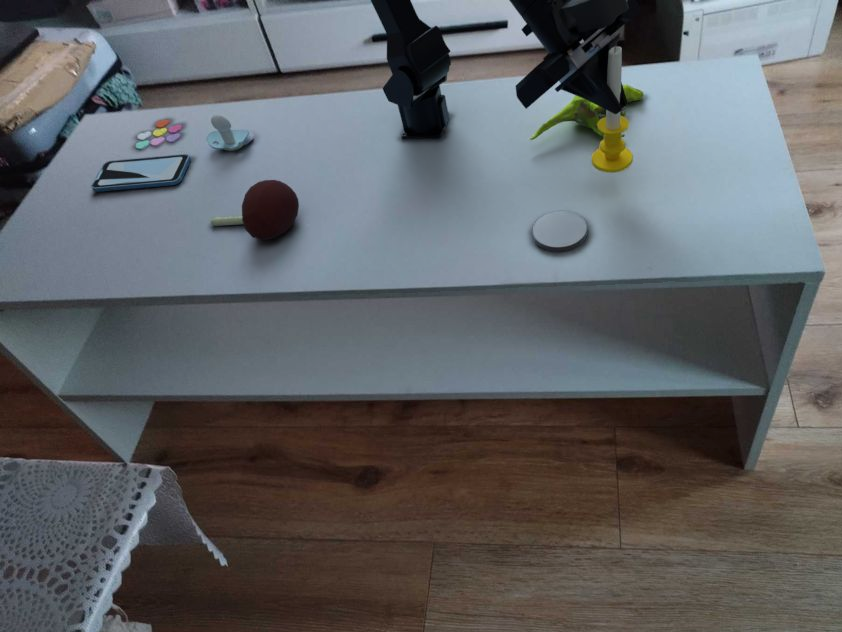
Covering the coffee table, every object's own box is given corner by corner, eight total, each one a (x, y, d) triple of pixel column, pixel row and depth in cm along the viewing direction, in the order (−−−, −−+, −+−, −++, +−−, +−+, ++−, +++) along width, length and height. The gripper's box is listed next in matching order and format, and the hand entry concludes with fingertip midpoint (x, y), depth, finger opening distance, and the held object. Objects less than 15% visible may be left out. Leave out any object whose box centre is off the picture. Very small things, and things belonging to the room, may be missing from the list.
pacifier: (223, 134, 119) (207, 154, 115) (208, 100, 114) (191, 120, 110) (262, 133, 117) (247, 154, 113) (248, 99, 112) (232, 120, 109)
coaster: (529, 251, 90) (528, 246, 89) (536, 214, 94) (536, 210, 93) (584, 252, 88) (584, 248, 87) (589, 215, 92) (589, 211, 92)
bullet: (215, 221, 103) (265, 218, 102) (213, 227, 103) (263, 224, 101) (212, 216, 103) (262, 213, 101) (209, 222, 102) (260, 219, 100)
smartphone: (177, 181, 110) (88, 189, 112) (180, 186, 111) (92, 193, 113) (190, 153, 115) (105, 160, 117) (193, 158, 116) (108, 165, 117)
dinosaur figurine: (581, 175, 98) (580, 137, 93) (528, 150, 103) (524, 113, 98) (670, 107, 104) (673, 68, 100) (616, 86, 110) (616, 49, 105)
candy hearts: (134, 151, 120) (133, 150, 119) (141, 126, 125) (140, 125, 124) (179, 141, 119) (179, 139, 119) (184, 116, 125) (184, 115, 124)
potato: (300, 215, 104) (315, 202, 99) (261, 255, 100) (275, 243, 95) (261, 177, 101) (275, 161, 96) (220, 216, 97) (232, 202, 92)
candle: (598, 177, 89) (600, 61, 77) (586, 153, 92) (585, 39, 80) (638, 167, 89) (646, 50, 77) (624, 144, 92) (629, 29, 80)
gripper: (529, -7, 69) (623, 121, 73) (630, -82, 77) (710, 36, 80) (477, 51, 79) (562, 162, 82) (571, -21, 87) (645, 82, 90)
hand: (621, 109), depth 84 cm, fingers closed on candle
